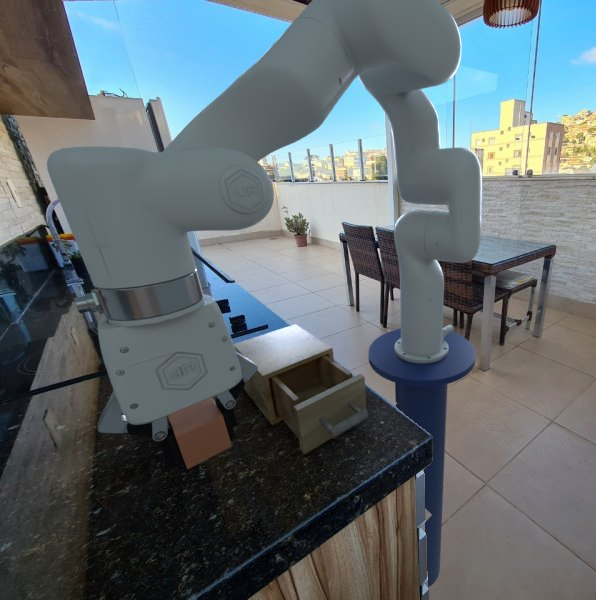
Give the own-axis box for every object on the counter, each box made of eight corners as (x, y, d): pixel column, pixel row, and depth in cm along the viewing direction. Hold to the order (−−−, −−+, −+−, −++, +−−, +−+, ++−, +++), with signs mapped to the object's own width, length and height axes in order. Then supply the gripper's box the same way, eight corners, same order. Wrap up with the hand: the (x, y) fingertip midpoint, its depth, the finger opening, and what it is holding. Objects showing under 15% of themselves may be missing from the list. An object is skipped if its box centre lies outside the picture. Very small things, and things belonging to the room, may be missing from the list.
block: (220, 426, 39) (211, 397, 38) (232, 446, 36) (223, 415, 34) (178, 446, 36) (167, 415, 35) (187, 469, 33) (175, 437, 32)
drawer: (383, 429, 50) (381, 388, 47) (319, 472, 43) (312, 426, 40) (325, 382, 62) (320, 347, 60) (267, 409, 55) (259, 371, 52)
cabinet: (337, 392, 61) (332, 347, 57) (272, 425, 53) (262, 376, 49) (301, 363, 71) (295, 323, 67) (242, 387, 63) (232, 344, 59)
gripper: (13, 340, 22) (110, 521, 28) (261, 282, 32) (289, 423, 39) (26, 310, 27) (106, 469, 33) (237, 268, 37) (265, 396, 44)
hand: (204, 443), depth 36 cm, fingers closed on block, 4 cm apart
